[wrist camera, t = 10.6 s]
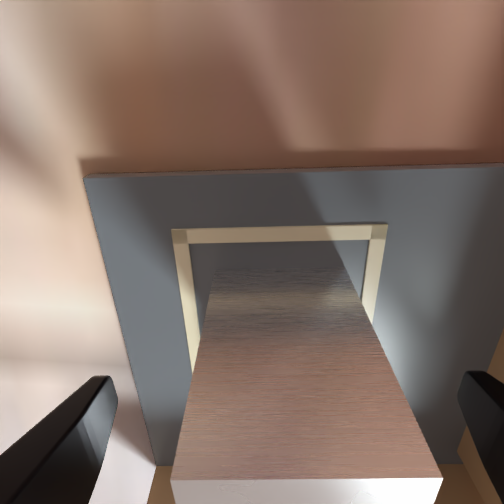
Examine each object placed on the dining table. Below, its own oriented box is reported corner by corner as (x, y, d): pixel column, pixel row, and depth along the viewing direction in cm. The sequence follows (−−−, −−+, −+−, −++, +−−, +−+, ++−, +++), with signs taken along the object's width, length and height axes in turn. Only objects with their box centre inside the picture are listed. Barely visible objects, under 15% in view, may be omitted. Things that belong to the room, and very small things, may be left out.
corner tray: (602, 160, 11) (852, 220, 6) (469, 472, 18) (540, 602, 13) (89, 174, 11) (-23, 240, 7) (163, 473, 18) (133, 601, 14)
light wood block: (329, 422, 16) (378, 654, 9) (229, 423, 16) (211, 653, 9) (345, 267, 12) (442, 477, 6) (214, 270, 12) (170, 480, 6)
